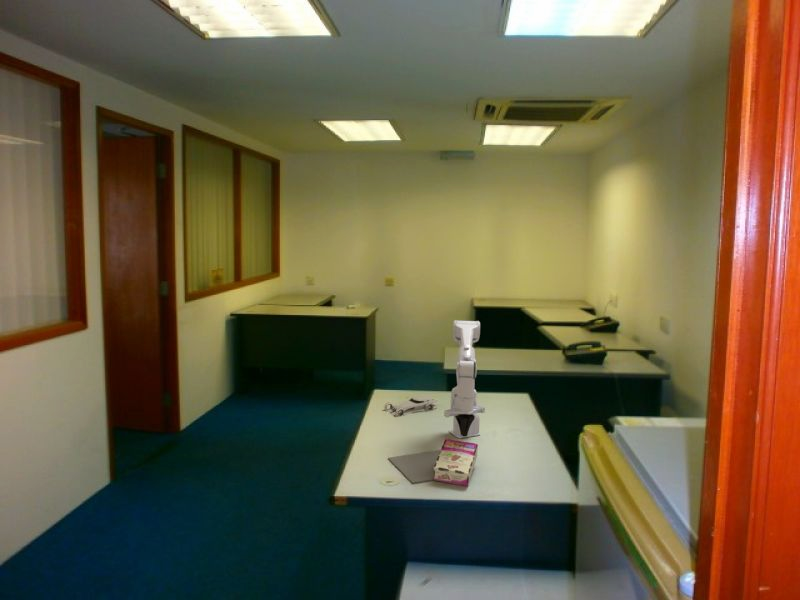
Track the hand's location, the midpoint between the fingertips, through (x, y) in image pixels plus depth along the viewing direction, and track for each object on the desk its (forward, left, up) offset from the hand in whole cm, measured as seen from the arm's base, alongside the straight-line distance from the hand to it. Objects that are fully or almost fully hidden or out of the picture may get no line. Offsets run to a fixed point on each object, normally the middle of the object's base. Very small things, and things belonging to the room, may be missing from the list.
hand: (463, 435), depth 190 cm
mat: (+13, 0, -9) cm, 16 cm away
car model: (-7, -55, -10) cm, 57 cm away
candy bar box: (+2, +2, -3) cm, 4 cm away
